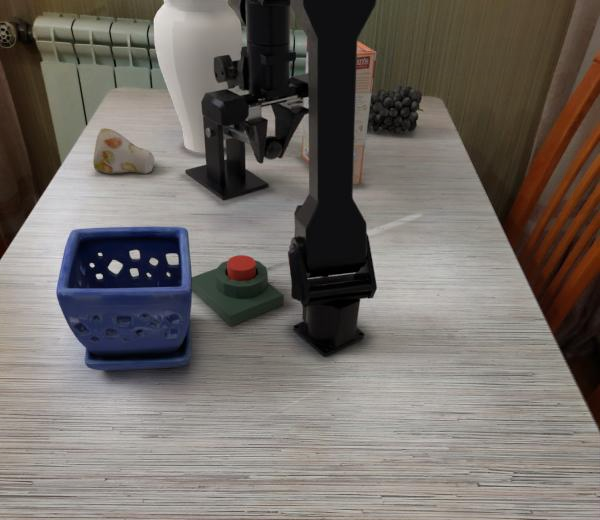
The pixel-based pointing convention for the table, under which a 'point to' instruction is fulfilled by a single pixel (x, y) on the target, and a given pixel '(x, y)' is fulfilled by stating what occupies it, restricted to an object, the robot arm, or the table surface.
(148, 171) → the white tapered piece
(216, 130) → the bracket
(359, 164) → the cracker box
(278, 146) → the lever
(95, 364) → the flower pot
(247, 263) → the button
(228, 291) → the control block
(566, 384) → the table surface
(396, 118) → the fruit
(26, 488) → the table surface
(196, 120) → the vase
